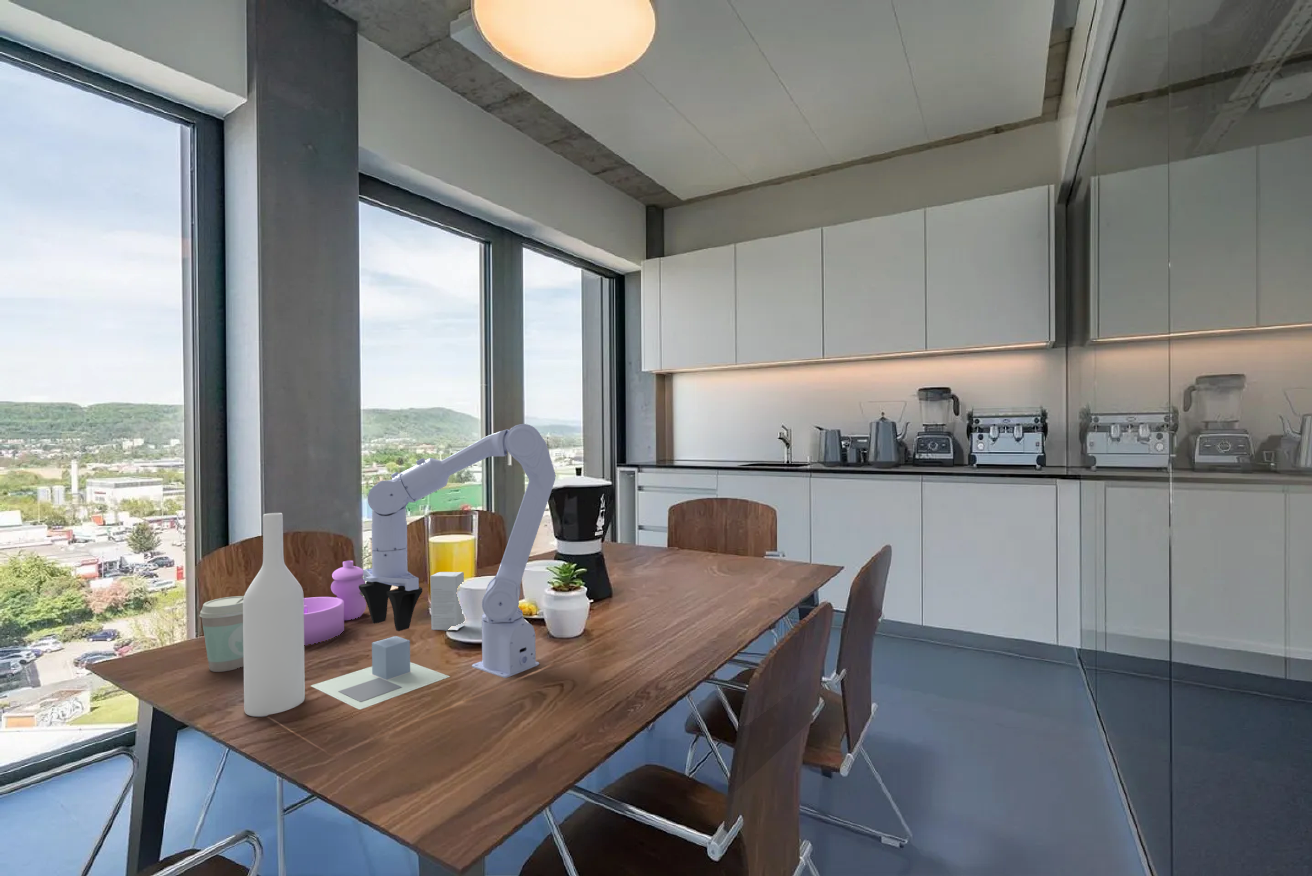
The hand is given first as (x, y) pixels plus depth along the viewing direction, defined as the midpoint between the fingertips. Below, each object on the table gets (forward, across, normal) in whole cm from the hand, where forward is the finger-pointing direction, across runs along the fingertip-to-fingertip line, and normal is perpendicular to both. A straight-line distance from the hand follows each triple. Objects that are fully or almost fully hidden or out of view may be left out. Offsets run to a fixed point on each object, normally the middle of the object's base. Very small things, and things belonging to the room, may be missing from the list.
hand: (390, 625), depth 109 cm
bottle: (+9, -3, -18) cm, 20 cm away
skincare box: (+9, -15, +22) cm, 28 cm away
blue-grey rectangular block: (+8, 0, 0) cm, 8 cm away
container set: (+9, -38, +6) cm, 40 cm away
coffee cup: (+9, -29, -15) cm, 34 cm away
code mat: (+9, +2, -3) cm, 9 cm away
